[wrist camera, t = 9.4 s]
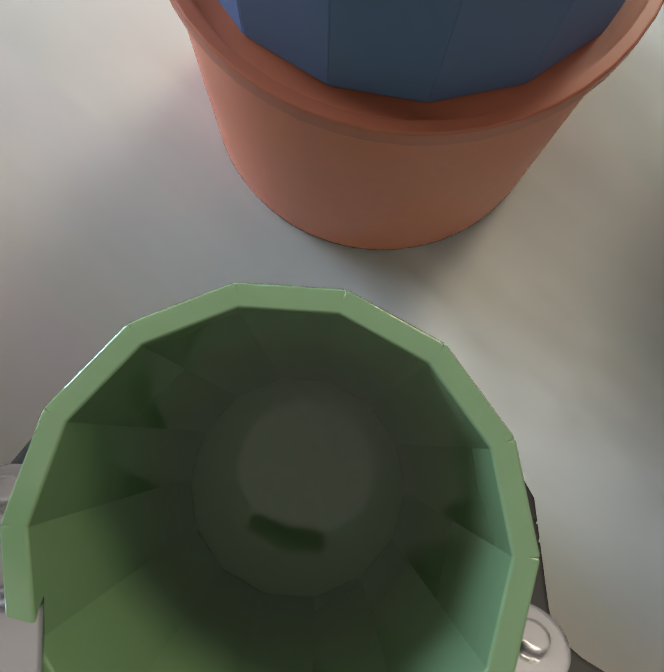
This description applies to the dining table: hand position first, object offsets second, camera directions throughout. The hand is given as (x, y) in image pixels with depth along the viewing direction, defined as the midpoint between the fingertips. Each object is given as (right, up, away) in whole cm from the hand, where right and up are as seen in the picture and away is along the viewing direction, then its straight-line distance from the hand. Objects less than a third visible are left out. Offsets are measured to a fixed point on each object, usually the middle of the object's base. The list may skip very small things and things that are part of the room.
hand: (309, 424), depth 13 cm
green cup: (0, -2, +4) cm, 5 cm away
